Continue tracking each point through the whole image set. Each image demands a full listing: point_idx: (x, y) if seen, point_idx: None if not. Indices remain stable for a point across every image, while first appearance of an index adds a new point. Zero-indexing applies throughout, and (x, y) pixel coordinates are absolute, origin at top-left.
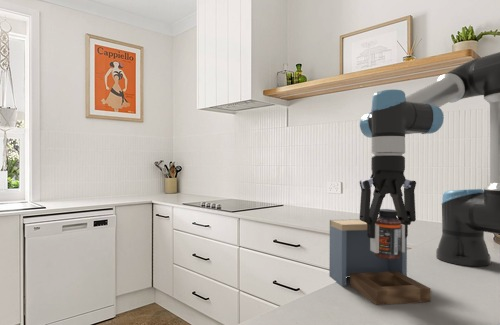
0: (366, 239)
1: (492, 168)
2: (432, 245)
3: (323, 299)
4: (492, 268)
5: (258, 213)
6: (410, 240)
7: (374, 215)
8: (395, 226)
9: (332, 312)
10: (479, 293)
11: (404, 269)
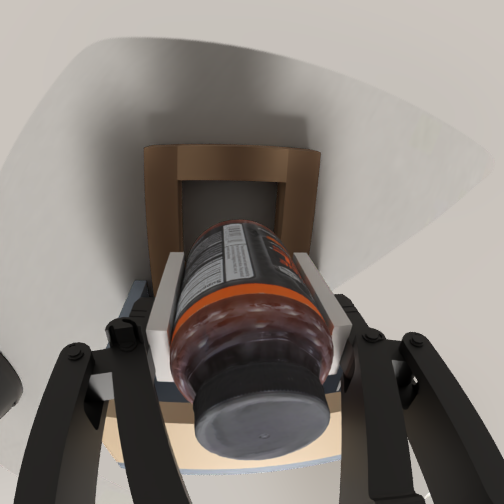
0: None
1: None
2: (21, 428)
3: (398, 209)
4: None
5: None
6: None
7: (386, 368)
8: (249, 289)
9: (414, 142)
10: (15, 191)
11: (132, 300)
